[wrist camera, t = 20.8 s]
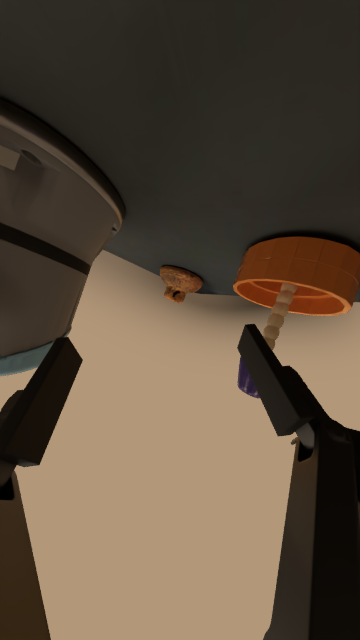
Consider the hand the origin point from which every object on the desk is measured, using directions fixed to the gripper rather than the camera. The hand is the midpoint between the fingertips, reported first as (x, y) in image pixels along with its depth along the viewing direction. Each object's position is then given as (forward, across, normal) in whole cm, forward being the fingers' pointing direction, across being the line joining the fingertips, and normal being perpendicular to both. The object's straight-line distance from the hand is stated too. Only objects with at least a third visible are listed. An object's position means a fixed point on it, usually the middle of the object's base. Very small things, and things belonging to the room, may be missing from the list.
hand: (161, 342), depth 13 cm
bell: (+32, +5, -10) cm, 34 cm away
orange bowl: (+10, +17, +2) cm, 20 cm away
